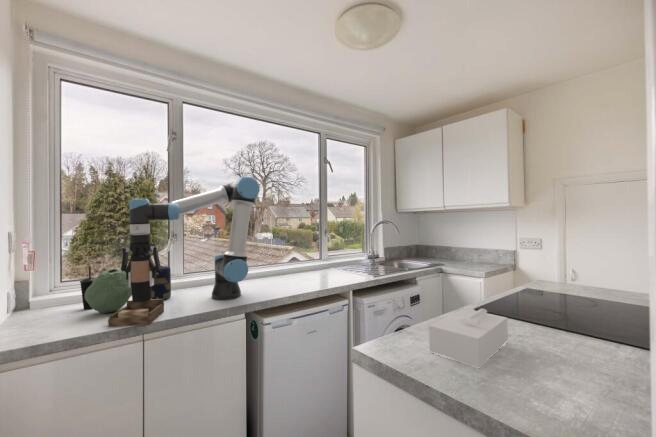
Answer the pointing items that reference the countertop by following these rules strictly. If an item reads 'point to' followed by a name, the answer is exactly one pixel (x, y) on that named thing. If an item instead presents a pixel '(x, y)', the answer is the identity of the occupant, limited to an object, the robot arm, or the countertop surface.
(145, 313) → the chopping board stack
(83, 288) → the drinking cup
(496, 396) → the countertop surface
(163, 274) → the canister
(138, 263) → the travel mug
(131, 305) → the wooden tray
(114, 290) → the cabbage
